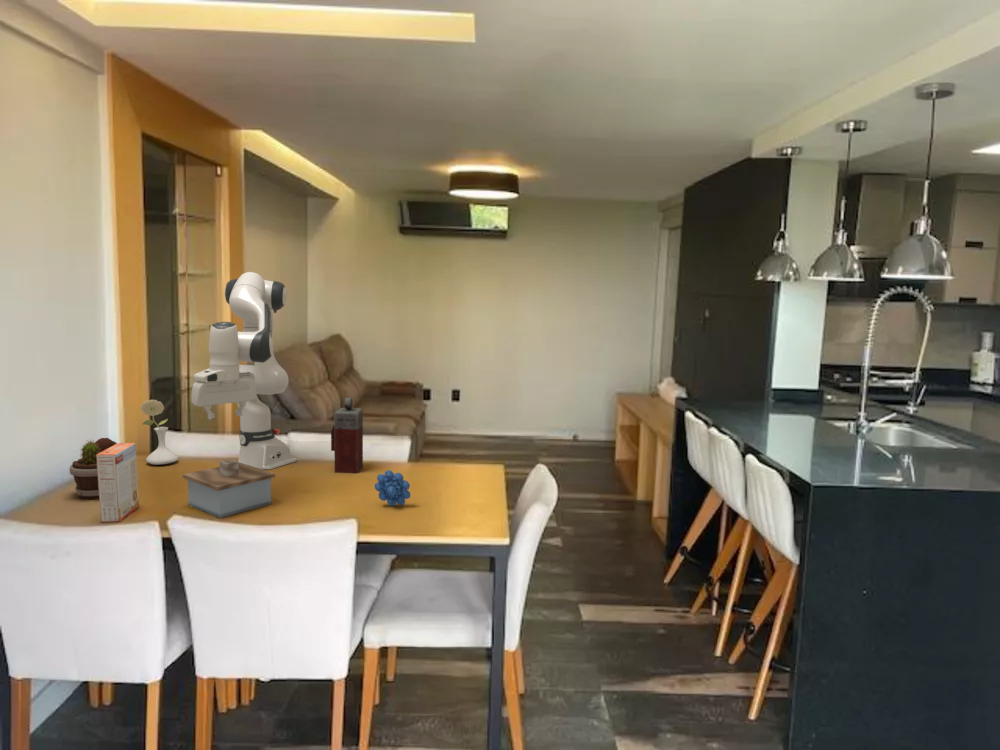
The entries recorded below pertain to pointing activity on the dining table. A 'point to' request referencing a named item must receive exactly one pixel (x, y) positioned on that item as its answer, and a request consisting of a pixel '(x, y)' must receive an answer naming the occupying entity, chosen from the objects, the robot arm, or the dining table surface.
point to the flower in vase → (162, 452)
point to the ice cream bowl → (104, 444)
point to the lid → (228, 475)
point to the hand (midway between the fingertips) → (225, 417)
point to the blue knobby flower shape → (392, 488)
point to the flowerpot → (86, 472)
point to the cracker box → (117, 482)
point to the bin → (229, 498)
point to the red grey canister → (348, 438)
